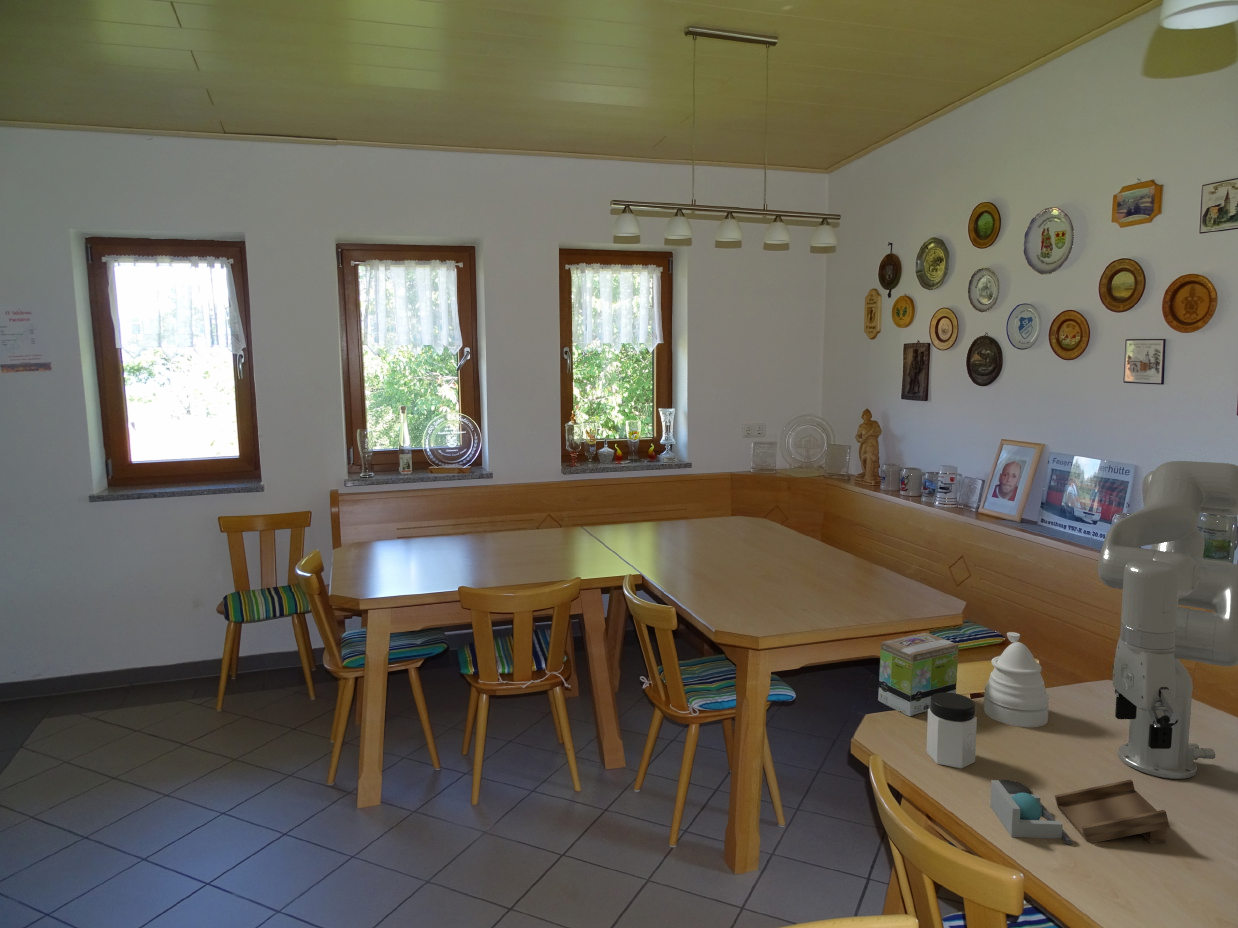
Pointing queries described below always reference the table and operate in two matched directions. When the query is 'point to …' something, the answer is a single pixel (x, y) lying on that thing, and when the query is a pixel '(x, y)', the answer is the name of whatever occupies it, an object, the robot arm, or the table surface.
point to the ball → (1028, 806)
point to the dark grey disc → (1015, 787)
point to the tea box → (916, 671)
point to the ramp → (1113, 813)
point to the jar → (951, 730)
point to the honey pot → (1016, 688)
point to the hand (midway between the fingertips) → (1141, 732)
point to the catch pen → (1011, 816)
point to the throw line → (1050, 818)
